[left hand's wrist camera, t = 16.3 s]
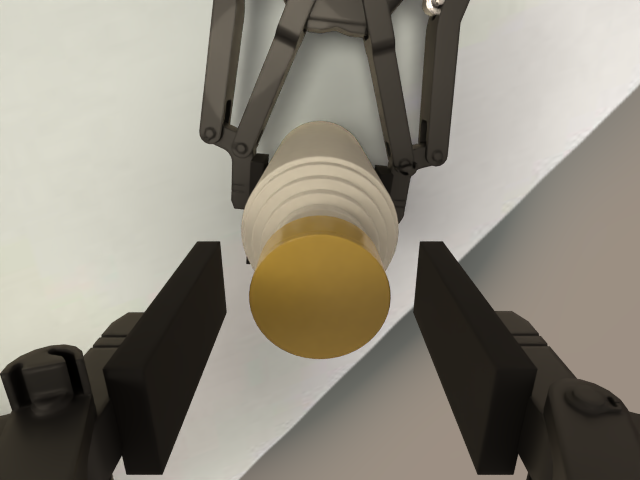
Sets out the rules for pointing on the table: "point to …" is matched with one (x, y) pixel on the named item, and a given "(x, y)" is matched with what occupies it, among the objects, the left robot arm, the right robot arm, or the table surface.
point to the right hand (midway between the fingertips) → (312, 260)
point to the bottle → (319, 189)
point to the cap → (319, 288)
